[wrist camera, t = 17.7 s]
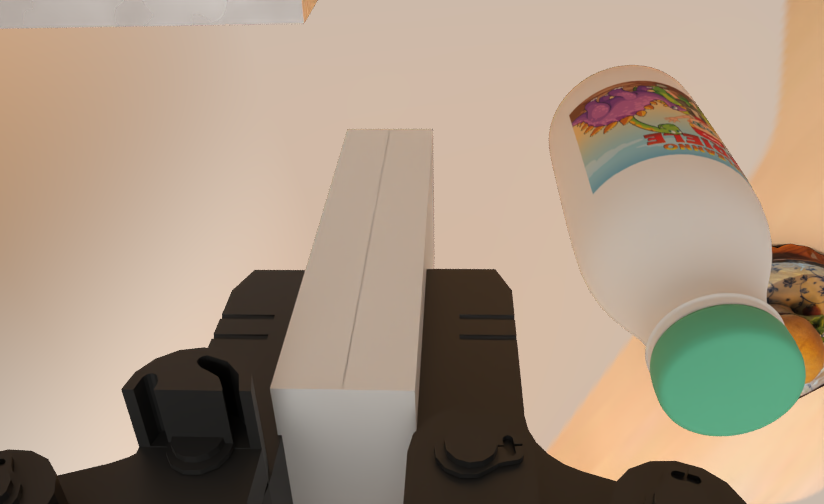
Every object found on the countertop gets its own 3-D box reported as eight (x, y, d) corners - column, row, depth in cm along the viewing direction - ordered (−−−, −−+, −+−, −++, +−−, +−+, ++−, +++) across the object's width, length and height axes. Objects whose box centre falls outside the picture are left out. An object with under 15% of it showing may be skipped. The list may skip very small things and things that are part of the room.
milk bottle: (657, 208, 43) (785, 493, 26) (527, 175, 43) (573, 447, 26) (720, 81, 39) (918, 325, 22) (577, 43, 38) (670, 265, 22)
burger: (639, 383, 51) (665, 471, 44) (687, 232, 44) (725, 310, 38) (819, 398, 51) (870, 489, 44) (893, 250, 44) (965, 331, 38)
